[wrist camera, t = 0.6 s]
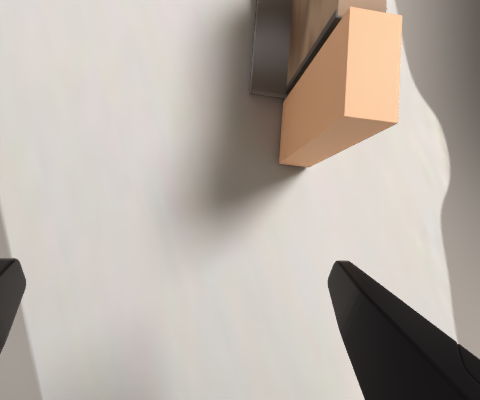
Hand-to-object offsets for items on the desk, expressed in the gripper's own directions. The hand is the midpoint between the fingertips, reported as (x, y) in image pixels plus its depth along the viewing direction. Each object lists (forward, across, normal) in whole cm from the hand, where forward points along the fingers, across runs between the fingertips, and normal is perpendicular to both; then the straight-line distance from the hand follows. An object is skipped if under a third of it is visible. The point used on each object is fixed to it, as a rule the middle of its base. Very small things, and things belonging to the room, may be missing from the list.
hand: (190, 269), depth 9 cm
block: (+16, -8, +1) cm, 18 cm away
